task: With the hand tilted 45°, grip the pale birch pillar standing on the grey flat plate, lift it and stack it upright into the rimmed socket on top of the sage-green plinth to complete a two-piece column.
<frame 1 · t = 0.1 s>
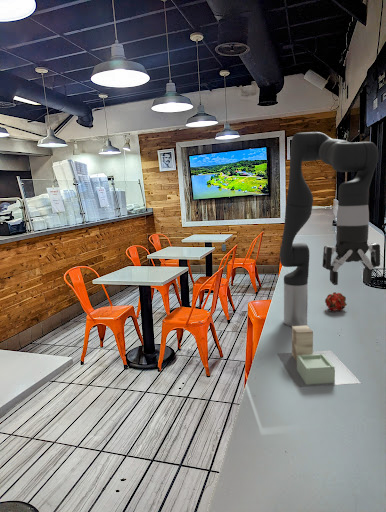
hand: (350, 283, 91), 29 cm above the worktop, tool pointing down, fingers open, 8 cm apart
green plinth: (315, 376, 99), resting on grey flat plate
birch pillar: (302, 357, 110), point 1 cm above the worktop, touching grey flat plate
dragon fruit: (335, 310, 153), on the worktop
grey flat plate: (315, 369, 104), on the worktop
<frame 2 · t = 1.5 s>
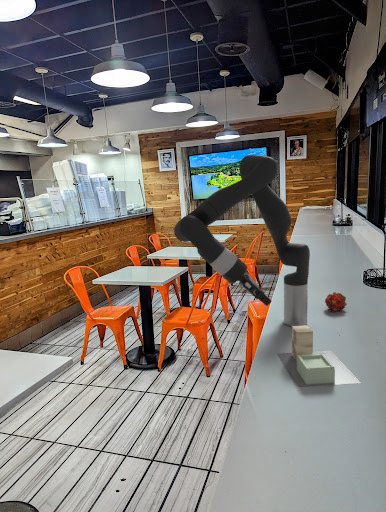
hand: (265, 299, 106), 22 cm above the worktop, tool tilted 45°, fingers open, 8 cm apart
nothing on the worktop moved.
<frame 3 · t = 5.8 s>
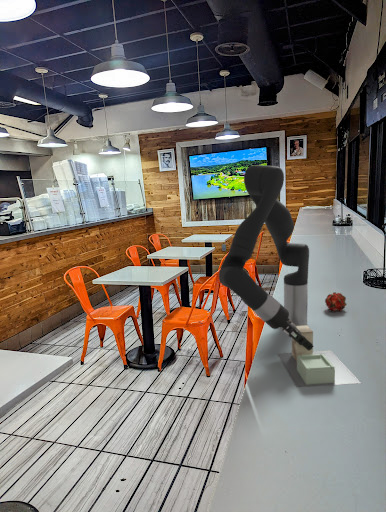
hand: (307, 344, 109), 6 cm above the worktop, tool tilted 45°, fingers closed on birch pillar, 5 cm apart
birch pillar: (302, 357, 110), point 1 cm above the worktop, touching grey flat plate, gripper
everything else where it was.
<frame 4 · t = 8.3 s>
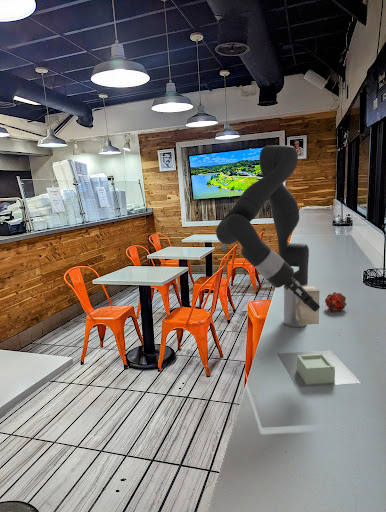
hand: (313, 305, 100), 21 cm above the worktop, tool tilted 45°, fingers closed on birch pillar, 5 cm apart
birch pillar: (307, 321, 101), point 16 cm above the worktop, touching gripper
everything else where it was.
when the fingers open (11 cm above the worktop, at t = 11.2 s): birch pillar drops 1 cm, resting on green plinth.
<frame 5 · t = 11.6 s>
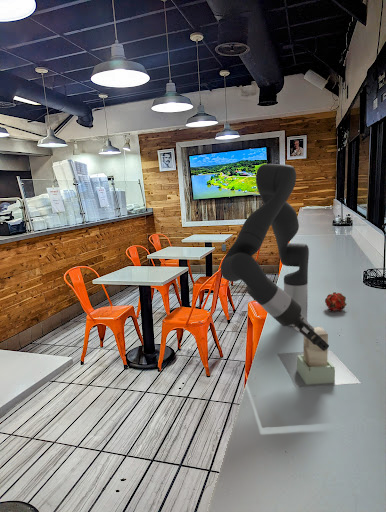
hand: (320, 341, 97), 12 cm above the worktop, tool tilted 45°, fingers open, 8 cm apart
birch pillar: (315, 363, 98), point 5 cm above the worktop, touching green plinth
everything else where it was.
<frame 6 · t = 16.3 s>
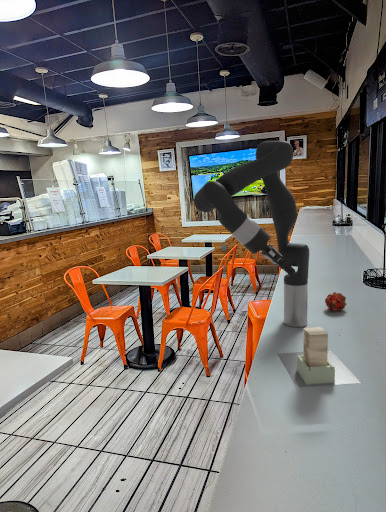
hand: (288, 270, 103), 31 cm above the worktop, tool tilted 45°, fingers open, 8 cm apart
nothing on the worktop moved.
at the end: birch pillar 0.1 cm off-centre on the green plinth, point 4.0 cm above the green plinth's base; birch pillar tilted 0°; the gripper is holding nothing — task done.
